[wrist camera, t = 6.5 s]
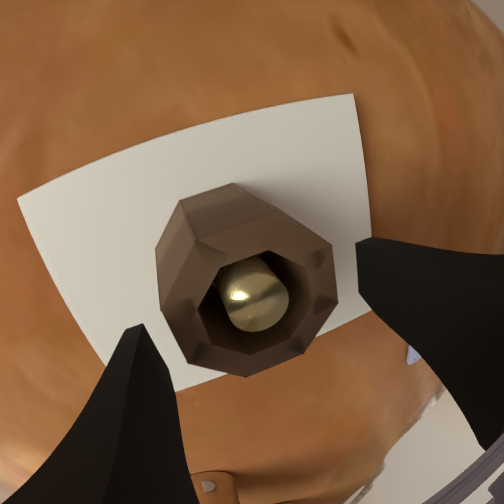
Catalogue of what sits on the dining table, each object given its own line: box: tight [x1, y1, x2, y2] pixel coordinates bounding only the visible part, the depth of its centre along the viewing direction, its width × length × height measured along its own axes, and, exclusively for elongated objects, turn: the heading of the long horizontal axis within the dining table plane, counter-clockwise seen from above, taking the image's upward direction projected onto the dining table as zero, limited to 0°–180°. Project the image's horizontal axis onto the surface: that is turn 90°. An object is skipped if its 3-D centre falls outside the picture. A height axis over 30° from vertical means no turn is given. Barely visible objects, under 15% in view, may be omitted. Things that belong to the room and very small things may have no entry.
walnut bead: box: [155, 183, 339, 378], centre depth 12 cm, size 6×6×5 cm
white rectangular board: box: [17, 94, 372, 392], centre depth 15 cm, size 16×13×2 cm
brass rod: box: [213, 254, 289, 332], centre depth 13 cm, size 2×2×6 cm
